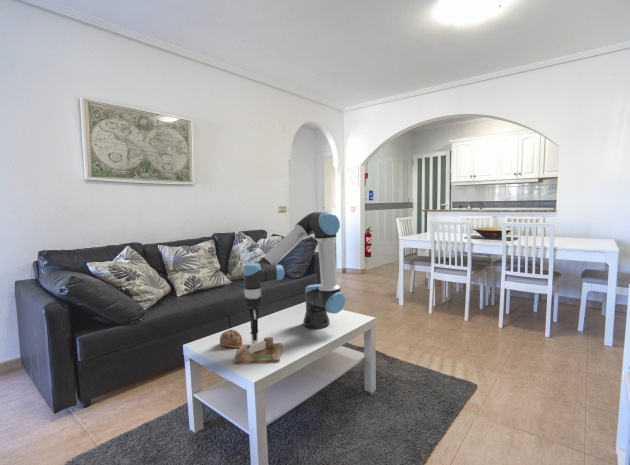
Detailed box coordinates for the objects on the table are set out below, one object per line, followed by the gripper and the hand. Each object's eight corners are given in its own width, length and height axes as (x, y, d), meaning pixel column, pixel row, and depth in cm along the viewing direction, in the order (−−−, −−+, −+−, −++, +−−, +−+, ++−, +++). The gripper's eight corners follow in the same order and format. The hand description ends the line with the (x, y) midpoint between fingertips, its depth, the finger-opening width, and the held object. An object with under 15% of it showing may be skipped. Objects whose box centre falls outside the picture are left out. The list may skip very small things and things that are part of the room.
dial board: (282, 345, 162) (282, 342, 162) (279, 362, 144) (279, 358, 144) (241, 347, 162) (241, 344, 162) (233, 364, 144) (233, 360, 144)
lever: (270, 344, 160) (269, 336, 160) (275, 347, 157) (274, 339, 156) (245, 352, 152) (245, 344, 152) (250, 355, 148) (249, 346, 148)
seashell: (222, 350, 157) (219, 329, 161) (220, 353, 164) (217, 333, 168) (244, 345, 161) (241, 325, 165) (241, 349, 168) (238, 329, 172)
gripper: (243, 294, 158) (245, 341, 160) (245, 301, 145) (247, 353, 147) (259, 292, 160) (261, 339, 162) (262, 299, 147) (264, 350, 149)
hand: (254, 346), depth 154 cm, fingers closed
